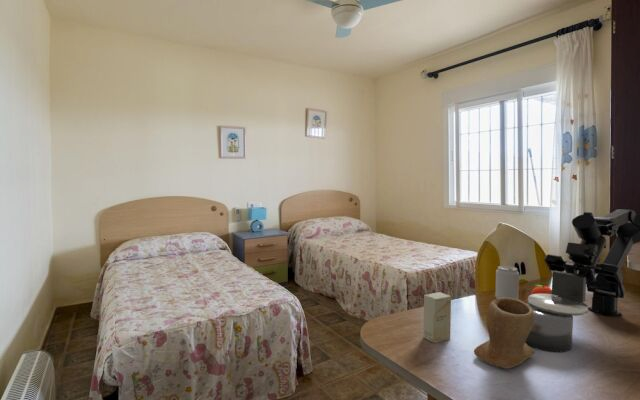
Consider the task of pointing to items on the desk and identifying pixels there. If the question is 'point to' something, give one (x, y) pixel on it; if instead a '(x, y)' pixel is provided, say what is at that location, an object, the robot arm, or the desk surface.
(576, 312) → the lid
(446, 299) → the skincare box
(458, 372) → the desk surface
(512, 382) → the desk surface
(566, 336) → the pot
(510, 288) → the can
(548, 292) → the clementine
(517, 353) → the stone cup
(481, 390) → the desk surface
